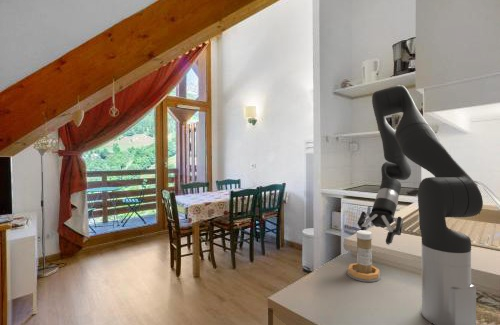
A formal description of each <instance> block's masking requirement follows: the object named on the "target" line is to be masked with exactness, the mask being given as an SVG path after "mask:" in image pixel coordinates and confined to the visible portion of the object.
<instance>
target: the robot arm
mask: <svg viewBox="0 0 500 325" xmlns="http://www.w3.org/2000/svg"><path fill="white" fill-rule="evenodd" d="M371 102H372V109H373V113H374V117H375V121H376V125H377V128H378V131H379V134H380V138H381V142H382V150H383V158H384V159H385V161H386V162H383V164H382V165H381V167H380V168H381V171H380V172H381V181H380V186H379V189H378V191H377V194H376V196H375V200H374V202H373V204H372V208H371V212H370V213H366V211H361V214H360V216H359V218H358V220H357V226H358V228H359V229H360V230H366V231H368V230H369V229H372V228H374V227H376V228H383V229H385V228H386V229H387V234H386V239H385V243H386V245H388V246H389V245H390V244H392V243H393V240H394V236H401V235H402V228H403V225H404V220H403V218H402V216H398V217H395V215H396V210H397V207H398V203H399V197H400V193H401V190H402V183H401V182H400V181H406V180H408V179H409V178H410V176H411V174H412V169H411V165H410V163H409V161H408V159H409V160H410V161H411V162H413V163H414V164H416V165H418V166H419V167H421V168H423V169H425V170H426V171H428V172H429V173H430V174H432V175H433V176H434V177H433V176H431V177H425V178H423V179H422V180H421V182H420V183H419V185H418V189H417V207H418V221H419V230H420V231H419V232H420V236H421V314H422V316H423V318H425V320H426V321H428V322H429V323H430V324H432V323H433V324H432V325H477V287H476V285H475V284H472V240H471V238H470V236H468V235H467V234H466V233H462V232H460V231H457V230H454V229H451V228H449V227H448V225H447V222H446V218H470V217H475V216H478V215H479V214H480V213H481V212H482V210H483V205H484V201H483V196H482V193H481V191H480V189H479V187H478V185H477V183H476V182H475V181H474V179H472V177H471V176H470V175H469V174H468V173H467V172H466V171H465V169H463V168H462V166H460V165H459V163H457V161H456V159H454V158H453V157H452V155H451V154H450V153H449V151H448V150H447V149H446V148H445V146H444V145H443V143H442V142H441V140H440V139H439V137H438V136H437V134H436V132H435V131H434V130H433V129H432V127H431V125H430V124H429V123H428V122H427V121H426V119H425V118H424V117H423V114H422V113H421V112H420V110H419V109H418V107H417V105H416V104H415V102H414V100H413V97H412V96H411V94H410V92H409V90H408V89H407V88H406V87H405V86H404V85H402V84H397V85H396V84H395V85H393V86H390V87H386V88H383V89H380V90H377V91H373V93H372V95H371ZM398 113H402V117H401V119H400V120H399V122H398V124H397V126H396V129H394V128H393V127H392V126H391V125H390V124H389V123H388V121H387V118H386V117H388V116H392V115H394V114H398ZM394 222H395V229H393V227H392V226H391V224H392V223H394Z"/></svg>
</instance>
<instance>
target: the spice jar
mask: <svg viewBox="0 0 500 325" xmlns="http://www.w3.org/2000/svg"><path fill="white" fill-rule="evenodd" d="M372 240H373V232H372V231H370V230H361V229H360V230H357V231H356V242H357V243H356V263H357V272H359V273H364V274H371V273H372V265H373V256H372V254H373V250H372V248H373V247H372Z"/></svg>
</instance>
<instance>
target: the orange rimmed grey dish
mask: <svg viewBox="0 0 500 325" xmlns="http://www.w3.org/2000/svg"><path fill="white" fill-rule="evenodd" d="M346 273H347V275H349V276H348V277H349V278H351V279H353V280H355V281H358V282H364V283H376V282H379V281H381V279H382V275H381V273H380V269H379V268H378V267H376V266H375V265H373V264H372V273H371V274H364V273H359V272H357V262H356V263H355V262H354V263H349V266H348V268H347V271H346Z"/></svg>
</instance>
